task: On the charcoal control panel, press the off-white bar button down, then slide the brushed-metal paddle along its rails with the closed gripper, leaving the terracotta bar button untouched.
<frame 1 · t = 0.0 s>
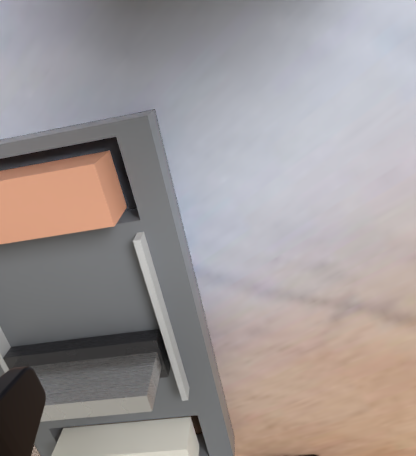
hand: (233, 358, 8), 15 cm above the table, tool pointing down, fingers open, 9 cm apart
button terracotta: (21, 203, 20), point 3 cm above the table, slide at 0.0 cm
slider paddle: (79, 381, 23), point 4 cm above the table, slide at 0.0 cm
panel: (97, 320, 27), on the table
button white: (127, 452, 28), point 3 cm above the table, slide at 0.0 cm
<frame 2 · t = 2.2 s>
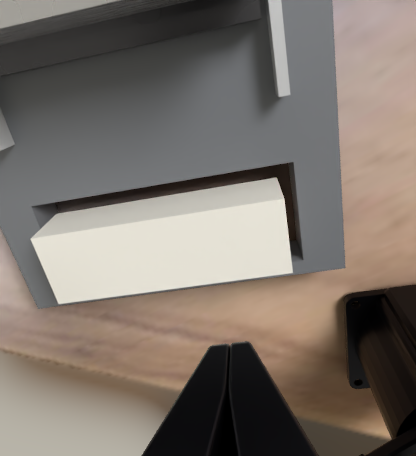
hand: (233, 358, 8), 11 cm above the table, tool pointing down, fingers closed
button white: (166, 241, 16), point 3 cm above the table, slide at 0.0 cm
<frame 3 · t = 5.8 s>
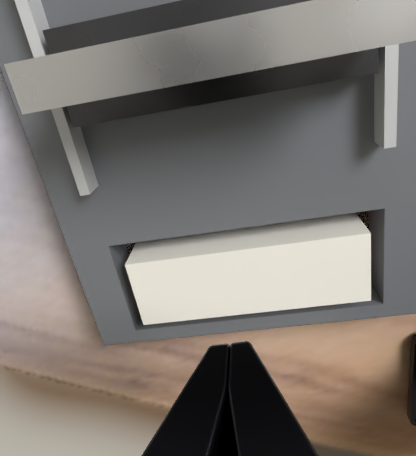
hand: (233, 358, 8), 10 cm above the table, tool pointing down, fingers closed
slider paddle: (207, 51, 11), point 4 cm above the table, slide at 0.0 cm
panel: (210, 22, 14), on the table
button white: (247, 267, 17), point 1 cm above the table, slide at 1.4 cm
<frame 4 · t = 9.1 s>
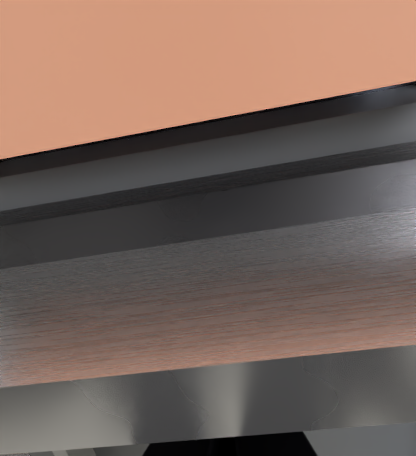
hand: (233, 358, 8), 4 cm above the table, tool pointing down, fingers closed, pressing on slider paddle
button terracotta: (170, 9, 6), point 3 cm above the table, slide at 0.0 cm
slider paddle: (217, 298, 6), point 4 cm above the table, slide at 6.6 cm, touching gripper
panel: (251, 356, 13), on the table
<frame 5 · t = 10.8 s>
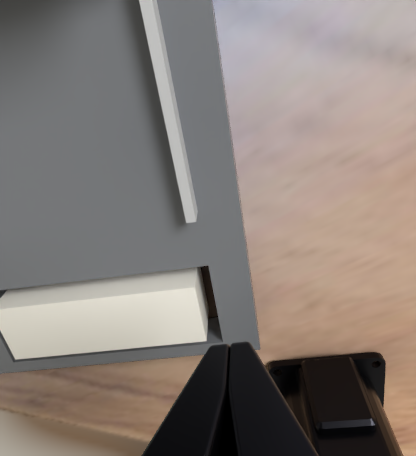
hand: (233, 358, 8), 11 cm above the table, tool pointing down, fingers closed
panel: (49, 104, 16), on the table
button white: (106, 309, 20), point 1 cm above the table, slide at 1.4 cm
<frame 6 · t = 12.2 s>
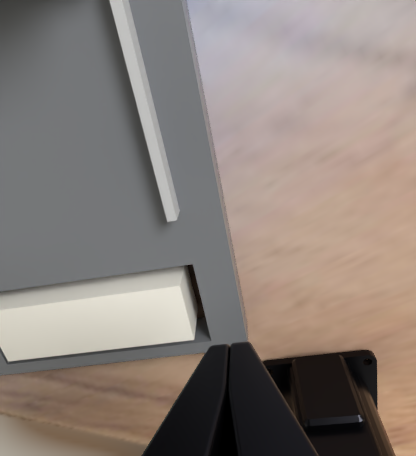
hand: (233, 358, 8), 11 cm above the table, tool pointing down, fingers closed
panel: (35, 110, 17), on the table
button white: (96, 310, 20), point 1 cm above the table, slide at 1.4 cm
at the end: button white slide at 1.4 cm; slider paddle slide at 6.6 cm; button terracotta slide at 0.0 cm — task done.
